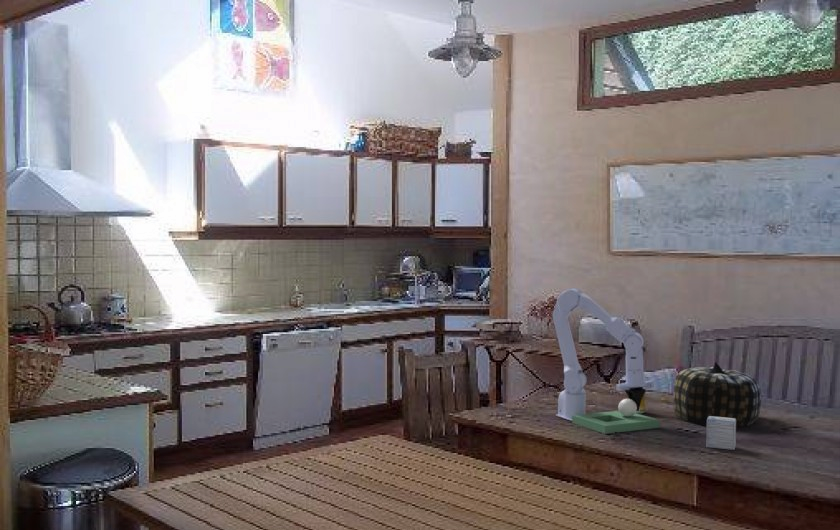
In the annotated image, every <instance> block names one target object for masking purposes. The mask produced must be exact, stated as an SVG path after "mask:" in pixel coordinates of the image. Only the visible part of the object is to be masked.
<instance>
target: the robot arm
mask: <svg viewBox="0 0 840 530" xmlns="http://www.w3.org/2000/svg"><path fill="white" fill-rule="evenodd" d="M575 309H580V310H586V311H588V312H589V313H590V314H591V315H592V316H594V317H595V318H597V319H598V320H599V321H600V322H601V323H603V324H604V325H605V329H606V331H607V332H608V333H609V334H610V335H611V336H612V337H614V338H615V339H616V340H617V341H619V342H620V343H623V347H624V348H625V382H622V383H619V384H615V390H616V391H617V392H622V391H624V392H625V394H626V395H627V397H628V399H631V400H633V401H634V402H635V403H636V405H637V411H639V407H640V403H641V400H642V398H643V396H644V394H645V395H646V392H647V391H646V389H645V388H654V387H655V381H654V380H650V379H649V380H645V376H644V375H645V374H644V354H643V353H644V349H643V346H644V337H643V336H642V335H641V332H640V333H639V332H638V331H637V332H636V329H634V328H631V327H630V326H629V325H627V324H626V323H625V320H624V319H623V318H619V317H618V316H617V317H616V316H615V317H613V316H611V315H610V314H609V313H608V312H607V311H605V309H604V308H602V306H600V305H599V304H598V303H596V302H595V300H594V299H592V297H590V296H589V295H587V294H586V293H584V292H582V291H581V290H580V289H579V288H575V287H572V288H569V289H565V290H563V291H562V292H561V293H560V295H559V296H558V297H557V299H556V303H555V306H554V308H553V312H552V319H553V324H554V328H555V333H556V338H557V341H558V345H559V350H560V354H561V358H562V362H563V363H562V364H563V374H564V375H563V376H564V379H563V386H564V390H562V391H560V393H559V395H558V402H557V403H558V405H557V413H556V414H555V416H556V417H558V418H562V419H565V420H568V421H570V422H572V415H581V414H586V407H587V406H586V402H587V391H586V390H585V388H584V387H585V386H586V385H587V383H588V381H587V376H586V374H585V373H584V372H583V369H582V366H581V364H580V363H579V359H578V354H577V351H576V346H575V342H574V338H573V337H574V336H573V333H572V329H571V324H570V321H569V317H570V315H571V313H572V312H573V311H574V310H575Z"/></svg>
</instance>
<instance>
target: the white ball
mask: <svg viewBox="0 0 840 530" xmlns="http://www.w3.org/2000/svg"><path fill="white" fill-rule="evenodd" d="M617 409H618V410H617V411H619V412H620V414H621V415H623V416H625V417H631V416H633V415H634V414H635V413H636V411H637V405H636V403H635V402H634V401H633V400H631V399H629V398H623V399H622V400H620V401H619V403H618V407H617Z"/></svg>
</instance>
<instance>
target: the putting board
mask: <svg viewBox="0 0 840 530" xmlns="http://www.w3.org/2000/svg"><path fill="white" fill-rule="evenodd" d="M571 423H572V424H574V425H577V426H579V427H580V426H581V427H583V428H587V429H589V430H592V431H595V432H599V433H602V434H605V435H607V434H616V433H615V432H617V433H625V432H631V431H632V432H633V431H640V430H641V431H642V430H649V429H650V430H651V429H657V428H660V419H658V418H653V417H650V416H646V415H643V414H641V413H635V414H634V415H633V416H631V417H625V416H623V415H621V414H620V412H619V410H613V411H603V412H594V413H593V412H592V413H585V414H581V415H572V421H571Z"/></svg>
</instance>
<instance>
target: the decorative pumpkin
mask: <svg viewBox="0 0 840 530" xmlns="http://www.w3.org/2000/svg"><path fill="white" fill-rule="evenodd" d="M673 386H674V387H673V389H674V391H673V407H674V408H673V410H674V411H673V416H674V418H675V419H677V420H679V421H683V422H685V423H690V424H696V425H700V426H705V427H707V418H708V417H709V416H715V417H726V418H735V419H736V427H747V426H750V425H752V424H754V423H756V421H757V420H758V418H759V416H760V412H761V408H762V390H761V387H760V384H759V382H758V381H757V380H756V378H754V377H753V376H752V375H750V374H748V373H744V372H740V371H738V370H734V369H724V368H721V366H720V364H718V363H717V361H715V362H714V365H713V366H712V367H711V366H710V367H704V366H691V367H689V368H686V369H682V370H681V371H679V372H678V373H677V374H676V376H675V379H674V385H673Z"/></svg>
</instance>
